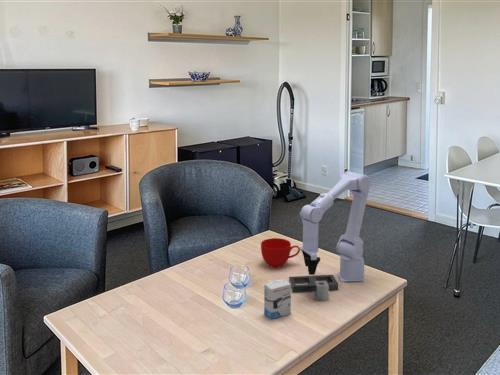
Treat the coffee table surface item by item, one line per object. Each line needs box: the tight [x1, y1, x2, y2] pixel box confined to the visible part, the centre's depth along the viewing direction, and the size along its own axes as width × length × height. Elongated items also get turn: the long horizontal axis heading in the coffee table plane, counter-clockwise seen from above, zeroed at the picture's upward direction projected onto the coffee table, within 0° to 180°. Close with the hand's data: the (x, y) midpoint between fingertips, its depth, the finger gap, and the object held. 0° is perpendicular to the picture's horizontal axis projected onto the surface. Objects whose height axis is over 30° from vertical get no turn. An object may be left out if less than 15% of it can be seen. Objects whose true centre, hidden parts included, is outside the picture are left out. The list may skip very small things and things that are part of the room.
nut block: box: [313, 281, 330, 302], centre depth 190 cm, size 4×4×6 cm
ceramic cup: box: [260, 237, 301, 269], centre depth 219 cm, size 13×17×10 cm
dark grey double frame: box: [288, 274, 339, 293], centre depth 200 cm, size 18×9×2 cm, turn 95°
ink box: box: [263, 278, 292, 320], centre depth 178 cm, size 8×5×12 cm, turn 117°
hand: (309, 270), depth 192 cm, fingers open, 7 cm apart
